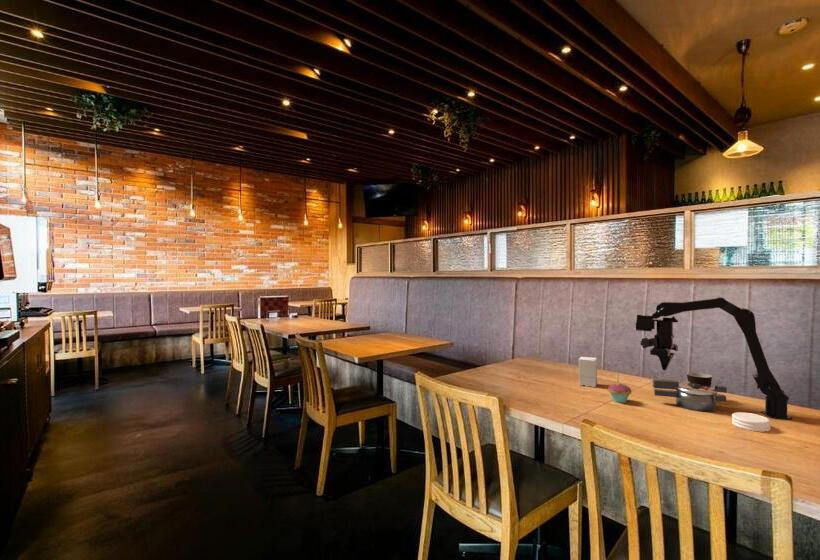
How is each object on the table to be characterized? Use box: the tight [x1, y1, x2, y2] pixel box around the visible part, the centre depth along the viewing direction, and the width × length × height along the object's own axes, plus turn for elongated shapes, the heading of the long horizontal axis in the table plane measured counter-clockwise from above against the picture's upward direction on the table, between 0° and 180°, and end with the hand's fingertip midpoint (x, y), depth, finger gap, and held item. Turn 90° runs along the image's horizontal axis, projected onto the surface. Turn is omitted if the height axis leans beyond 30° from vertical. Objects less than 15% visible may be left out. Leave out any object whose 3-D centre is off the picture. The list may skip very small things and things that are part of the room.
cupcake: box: [607, 373, 632, 404], centre depth 166 cm, size 9×8×12 cm
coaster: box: [731, 411, 771, 433], centre depth 137 cm, size 10×10×4 cm
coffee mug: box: [686, 372, 713, 387], centre depth 169 cm, size 12×9×10 cm
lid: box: [652, 378, 728, 395], centre depth 159 cm, size 24×14×3 cm, turn 72°
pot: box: [653, 388, 727, 413], centre depth 159 cm, size 24×13×6 cm, turn 68°
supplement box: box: [578, 356, 598, 388], centre depth 191 cm, size 7×7×13 cm
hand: (664, 370), depth 166 cm, fingers closed
